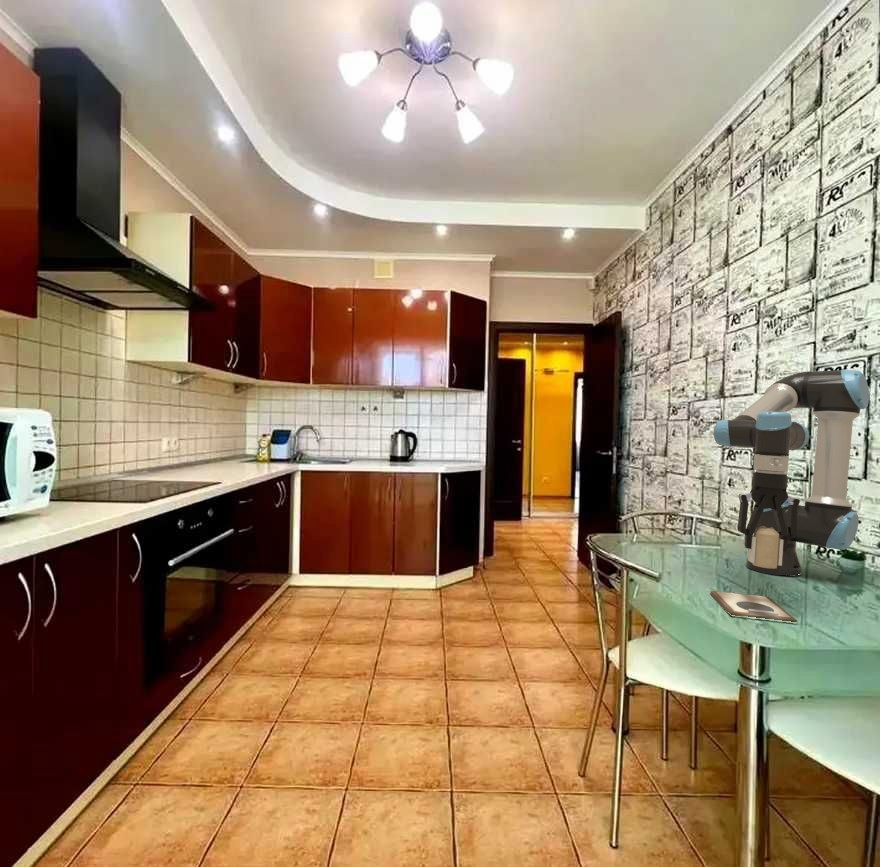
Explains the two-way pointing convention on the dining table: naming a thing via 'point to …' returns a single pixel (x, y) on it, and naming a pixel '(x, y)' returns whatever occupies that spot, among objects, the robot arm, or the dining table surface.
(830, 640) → the dining table surface
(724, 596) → the brown tray
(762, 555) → the candle
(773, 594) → the dining table surface
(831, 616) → the dining table surface
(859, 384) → the robot arm
